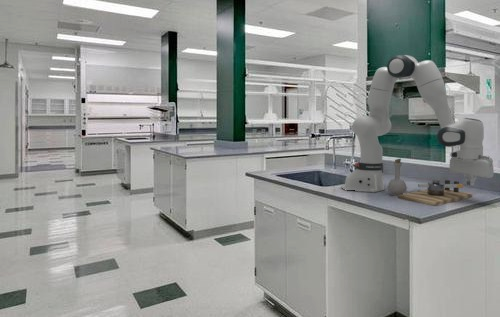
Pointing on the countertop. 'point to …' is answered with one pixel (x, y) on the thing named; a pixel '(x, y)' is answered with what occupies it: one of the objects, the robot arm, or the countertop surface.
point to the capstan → (438, 187)
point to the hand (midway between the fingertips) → (469, 184)
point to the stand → (436, 196)
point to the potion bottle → (397, 181)
